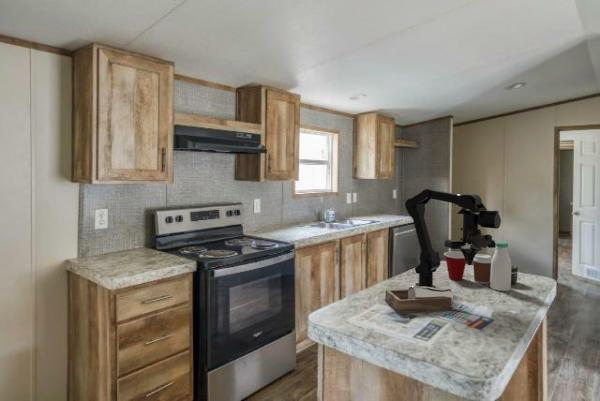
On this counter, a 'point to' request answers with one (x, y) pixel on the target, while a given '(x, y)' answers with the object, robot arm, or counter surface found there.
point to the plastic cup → (455, 264)
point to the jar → (514, 274)
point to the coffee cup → (482, 268)
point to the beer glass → (428, 292)
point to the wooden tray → (416, 303)
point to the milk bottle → (501, 268)
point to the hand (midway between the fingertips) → (469, 265)
